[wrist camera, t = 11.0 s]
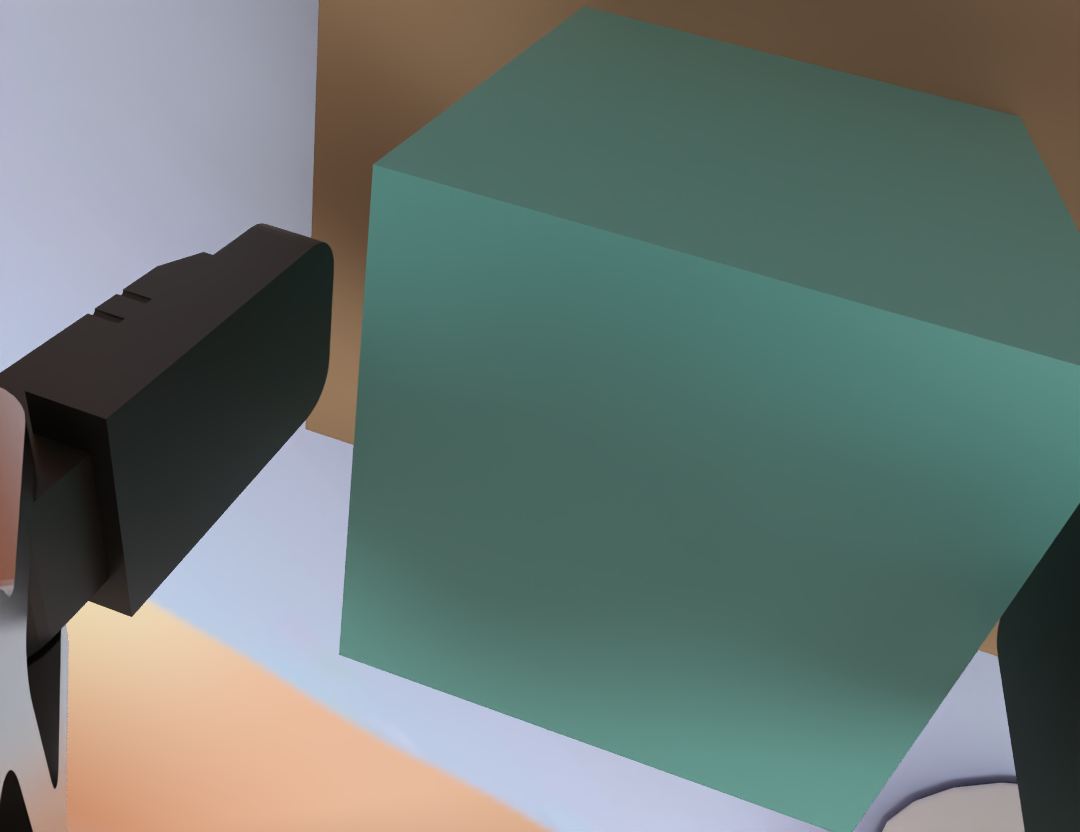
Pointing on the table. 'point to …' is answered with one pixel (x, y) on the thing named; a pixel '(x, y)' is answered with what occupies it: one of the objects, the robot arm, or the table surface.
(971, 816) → the spray bottle
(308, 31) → the table surface
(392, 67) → the board
